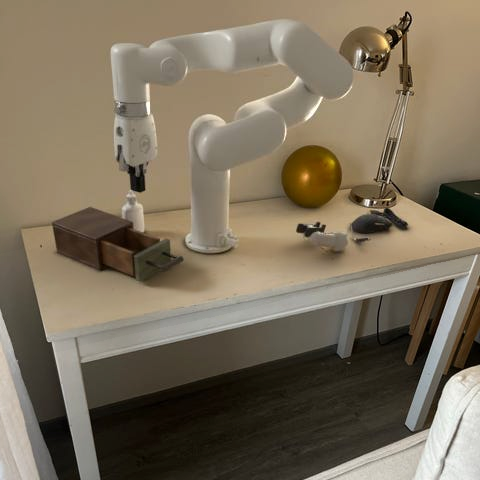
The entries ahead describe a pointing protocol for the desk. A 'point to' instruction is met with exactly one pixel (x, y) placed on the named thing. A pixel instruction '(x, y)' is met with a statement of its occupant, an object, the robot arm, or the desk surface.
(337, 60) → the robot arm
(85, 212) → the cabinet
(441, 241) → the desk surface
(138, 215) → the eye dropper bottle
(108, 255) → the drawer
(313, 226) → the clip-on lamp
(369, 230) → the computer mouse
